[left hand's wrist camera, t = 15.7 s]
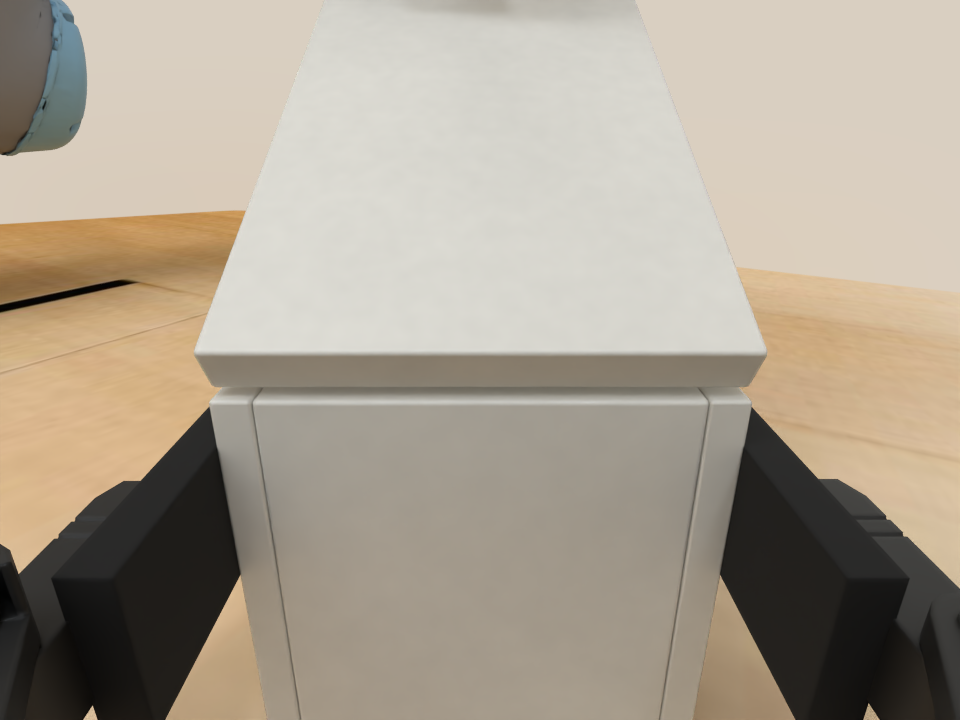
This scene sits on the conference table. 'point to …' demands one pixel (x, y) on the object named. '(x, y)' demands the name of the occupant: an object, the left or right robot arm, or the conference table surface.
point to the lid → (480, 213)
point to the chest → (480, 546)
